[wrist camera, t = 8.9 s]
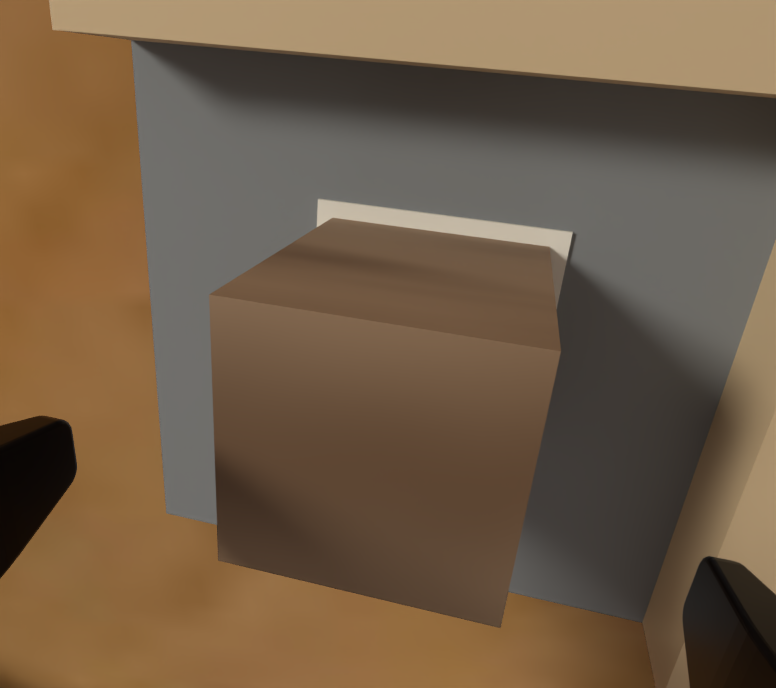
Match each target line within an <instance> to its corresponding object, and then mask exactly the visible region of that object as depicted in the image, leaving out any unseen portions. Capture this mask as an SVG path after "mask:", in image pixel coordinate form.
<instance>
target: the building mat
mask: <svg viewBox="0 0 776 688" xmlns="http://www.w3.org/2000/svg"><path fill="white" fill-rule="evenodd" d="M49 4H50V13H51V21H52V29H53V30H59V31H66V32H74V33H81V34H89V35H97V36H104V37H112V38H119V39H127V40H131V42H132V56H133V69H134V83H135V96H136V110H137V123H138V137H139V150H140V164H141V177H142V191H143V204H144V218H145V231H146V245H147V258H148V272H149V285H150V299H151V312H152V325H153V339H154V352H155V366H156V379H157V393H158V406H159V420H160V433H161V447H162V460H163V474H164V487H165V501H166V513H168V514H172V515H176V516H181V517H185V518H190V519H194V520H198V521H203V522H207V523H211V524H216V525H217V510H216V481H215V452H214V423H213V394H212V365H211V336H210V307H209V294H211V293H212V292H214V291H216V290H217V289H219V288H220V287H222V286H224V285H225V284H227V283H228V282H230V281H232V280H233V279H235V278H236V277H238V276H240V275H241V274H243V273H244V272H246V271H248V270H249V269H251V268H252V267H254V266H256V265H257V264H259V263H261V262H262V261H264V260H265V259H267V258H269V257H270V256H272V255H273V254H275V253H277V252H278V251H280V250H281V249H283V248H285V247H286V246H288V245H289V244H291V243H293V242H294V241H296V240H297V239H299V238H301V237H302V236H304V235H305V234H307V233H309V232H310V231H312V230H313V229H315V228H317V227H318V226H320V225H322V224H323V223H325V222H326V221H328V220H330V219H331V218H339V219H347V220H354V221H361V222H369V223H376V224H384V225H391V226H399V227H406V228H414V229H421V230H429V231H436V232H443V233H451V234H458V235H466V236H473V237H481V238H488V239H496V240H503V241H511V242H518V243H525V244H533V245H540V246H548V247H550V255H551V264H552V273H553V283H554V292H555V301H556V310H557V319H558V329H559V338H560V347H561V354H560V358H559V363H558V367H557V372H556V376H555V381H554V386H553V390H552V395H551V399H550V404H549V408H548V413H547V418H546V422H545V427H544V431H543V436H542V440H541V445H540V449H539V454H538V459H537V463H536V468H535V472H534V477H533V481H532V486H531V491H530V495H529V500H528V504H527V509H526V513H525V518H524V522H523V527H522V532H521V536H520V541H519V545H518V550H517V554H516V559H515V564H514V568H513V573H512V577H511V582H510V586H509V591H508V592H511V593H515V594H520V595H524V596H528V597H533V598H537V599H541V600H546V601H550V602H554V603H559V604H563V605H567V606H572V607H576V608H580V609H585V610H589V611H594V612H598V613H602V614H607V615H611V616H615V617H620V618H624V619H628V620H633V621H637V622H641V623H642V624H643V629H644V634H645V638H646V643H647V648H648V653H649V658H650V663H651V667H652V672H653V677H654V682H655V687H656V688H690V685H689V676H688V667H687V658H686V650H685V641H684V632H683V622H682V614H683V607H684V603H685V600H686V597H687V594H688V592H689V589H690V587H691V584H692V581H693V579H694V576H695V574H696V571H697V568H698V566H699V564H700V562H701V561H702V559H703V558H705V557H708V556H713V557H717V558H722V559H727V560H732V561H736V562H739V563H741V564H743V565H744V566H745V567H746V568H747V569H748V570H750V571H751V572H752V573H753V574H754V575H755V576H756V577H757V578H758V579H759V580H760V581H762V582H763V583H764V584H765V585H766V586H767V587H768V588H769V589H770V590H771V591H772V592H774V593H775V594H776V0H49Z"/></svg>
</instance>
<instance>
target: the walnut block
mask: <svg viewBox="0 0 776 688" xmlns="http://www.w3.org/2000/svg"><path fill="white" fill-rule="evenodd" d="M209 307H210V336H211V365H212V394H213V423H214V452H215V481H216V510H217V539H218V561H223V562H227V563H231V564H235V565H239V566H244V567H248V568H252V569H256V570H260V571H264V572H269V573H273V574H277V575H281V576H285V577H289V578H294V579H298V580H302V581H306V582H310V583H315V584H319V585H323V586H327V587H331V588H335V589H340V590H344V591H348V592H352V593H356V594H360V595H365V596H369V597H373V598H377V599H381V600H386V601H390V602H394V603H398V604H402V605H406V606H411V607H415V608H419V609H423V610H427V611H431V612H436V613H440V614H444V615H448V616H452V617H457V618H461V619H465V620H469V621H473V622H477V623H482V624H486V625H490V626H494V627H498V628H500V627H501V623H502V618H503V614H504V609H505V605H506V600H507V595H508V591H509V586H510V582H511V577H512V573H513V568H514V564H515V559H516V554H517V550H518V545H519V541H520V536H521V532H522V527H523V522H524V518H525V513H526V509H527V504H528V500H529V495H530V491H531V486H532V481H533V477H534V472H535V468H536V463H537V459H538V454H539V449H540V445H541V440H542V436H543V431H544V427H545V422H546V418H547V413H548V408H549V404H550V399H551V395H552V390H553V386H554V381H555V376H556V372H557V367H558V363H559V358H560V354H561V347H560V338H559V329H558V319H557V310H556V301H555V292H554V283H553V273H552V264H551V255H550V247H548V246H540V245H533V244H525V243H518V242H511V241H503V240H496V239H488V238H481V237H473V236H466V235H458V234H451V233H443V232H436V231H429V230H421V229H414V228H406V227H399V226H391V225H384V224H376V223H369V222H361V221H354V220H347V219H339V218H331V219H330V220H328V221H326V222H325V223H323V224H322V225H320V226H318V227H317V228H315V229H313V230H312V231H310V232H309V233H307V234H305V235H304V236H302V237H301V238H299V239H297V240H296V241H294V242H293V243H291V244H289V245H288V246H286V247H285V248H283V249H281V250H280V251H278V252H277V253H275V254H273V255H272V256H270V257H269V258H267V259H265V260H264V261H262V262H261V263H259V264H257V265H256V266H254V267H252V268H251V269H249V270H248V271H246V272H244V273H243V274H241V275H240V276H238V277H236V278H235V279H233V280H232V281H230V282H228V283H227V284H225V285H224V286H222V287H220V288H219V289H217V290H216V291H214V292H212V293H211V294H209Z"/></svg>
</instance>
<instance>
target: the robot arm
mask: <svg viewBox="0 0 776 688" xmlns="http://www.w3.org/2000/svg"><path fill="white" fill-rule="evenodd" d="M76 471H77V462H76V455H75V448H74V441H73V434H72V429H71V426H70V425H69V423H68V422H66V421H65V420H62V419H57V418H53V417H48V416H36V417H32V418H28V419H25V420H21V421H17V422H13V423H9V424H5V425H2V426H0V578H1V577H2V576H3V575H4V573H5V572H6V571H7V570H8V569H9V568H10V566H11V565H12V564H13V562H14V561H15V560H16V558H17V557H18V556H19V555H20V553H21V552H22V551H23V549H24V548H25V546H26V545H27V544H28V542H29V541H30V540H31V538H32V537H33V536H34V534H35V533H36V531H37V530H38V529H39V527H40V526H41V525H42V523H43V522H44V521H45V519H46V518H47V516H48V515H49V514H50V512H51V511H52V510H53V508H54V507H55V505H56V504H57V503H58V501H59V500H60V499H61V497H62V496H63V495H64V493H65V492H66V490H67V489H68V488H69V486H70V485H71V483H72V482H73V480H74V478H75V475H76ZM682 622H683V632H684V641H685V650H686V658H687V667H688V676H689V685H690V688H776V594H775V593H774V592H772V591H771V590H770V589H769V588H768V587H767V586H766V585H765V584H764V583H763V582H762V581H760V580H759V579H758V578H757V577H756V576H755V575H754V574H753V573H752V572H751V571H750V570H748V569H747V568H746V567H745V566H744V565H743V564H741V563H739V562H736V561H732V560H727V559H722V558H717V557H713V556H708V557H705V558H703V559H702V561H701V562H700V564H699V566H698V568H697V571H696V574H695V576H694V579H693V581H692V584H691V587H690V589H689V592H688V594H687V597H686V600H685V603H684V607H683V614H682Z"/></svg>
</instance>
